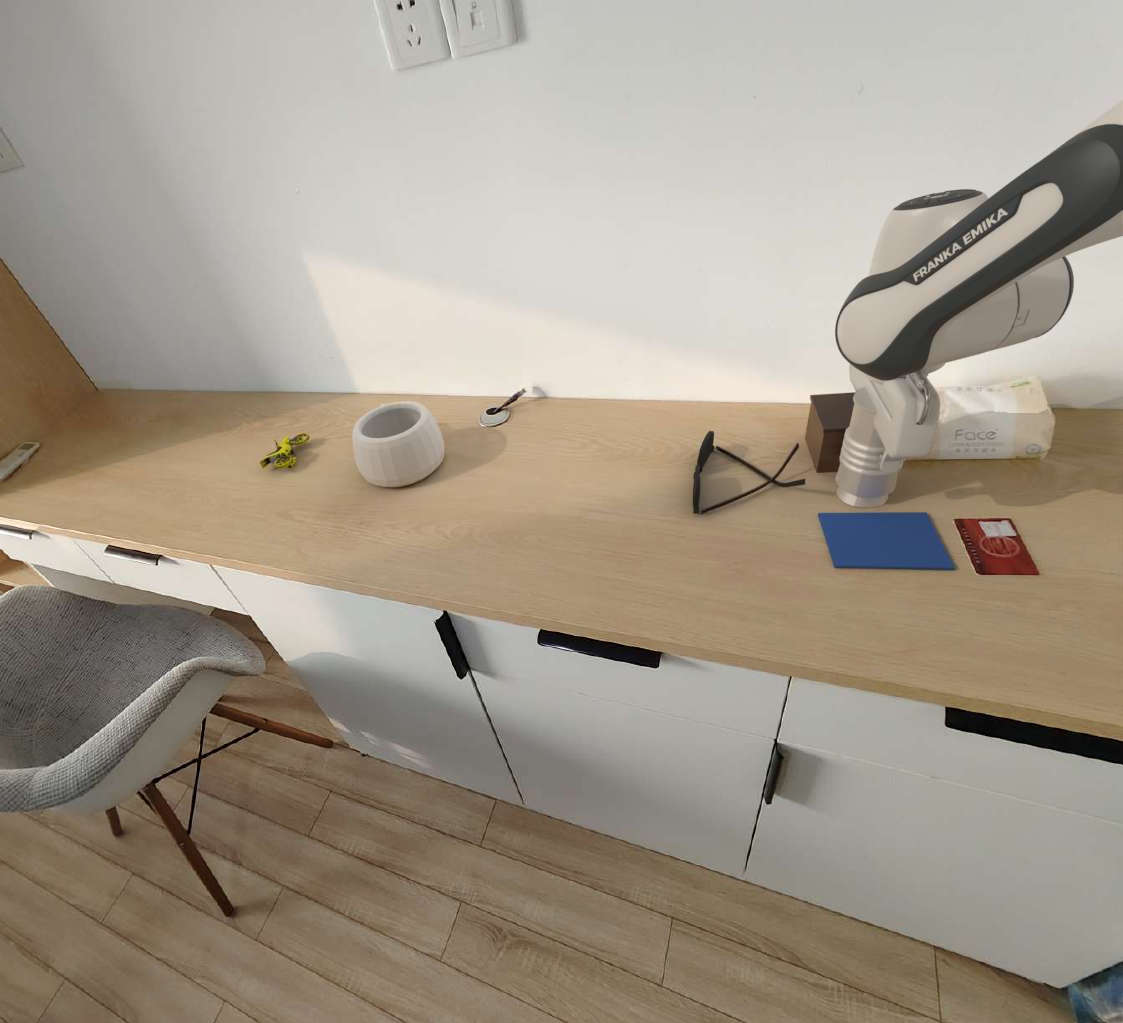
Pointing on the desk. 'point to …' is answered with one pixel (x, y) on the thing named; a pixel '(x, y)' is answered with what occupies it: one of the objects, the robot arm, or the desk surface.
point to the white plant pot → (397, 444)
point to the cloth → (884, 541)
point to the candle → (863, 459)
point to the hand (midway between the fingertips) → (876, 447)
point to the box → (828, 428)
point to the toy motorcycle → (284, 452)
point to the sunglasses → (709, 447)
